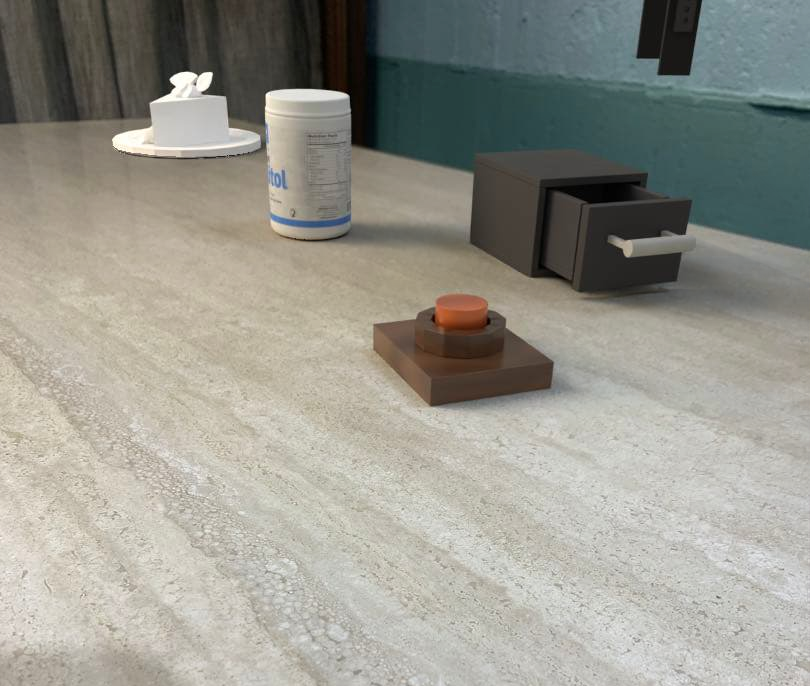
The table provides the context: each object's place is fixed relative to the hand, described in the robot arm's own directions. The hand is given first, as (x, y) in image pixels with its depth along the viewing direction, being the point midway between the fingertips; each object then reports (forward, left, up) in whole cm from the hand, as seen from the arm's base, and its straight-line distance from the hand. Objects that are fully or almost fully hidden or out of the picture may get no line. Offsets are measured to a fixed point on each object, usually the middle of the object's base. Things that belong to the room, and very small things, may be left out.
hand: (660, 66), depth 82 cm
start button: (+15, +31, -16) cm, 38 cm away
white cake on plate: (+70, -60, -19) cm, 95 cm away
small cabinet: (+8, -4, -19) cm, 21 cm away
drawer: (+3, +5, -18) cm, 19 cm away
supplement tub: (+36, -8, -19) cm, 42 cm away
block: (+15, +31, -19) cm, 39 cm away
